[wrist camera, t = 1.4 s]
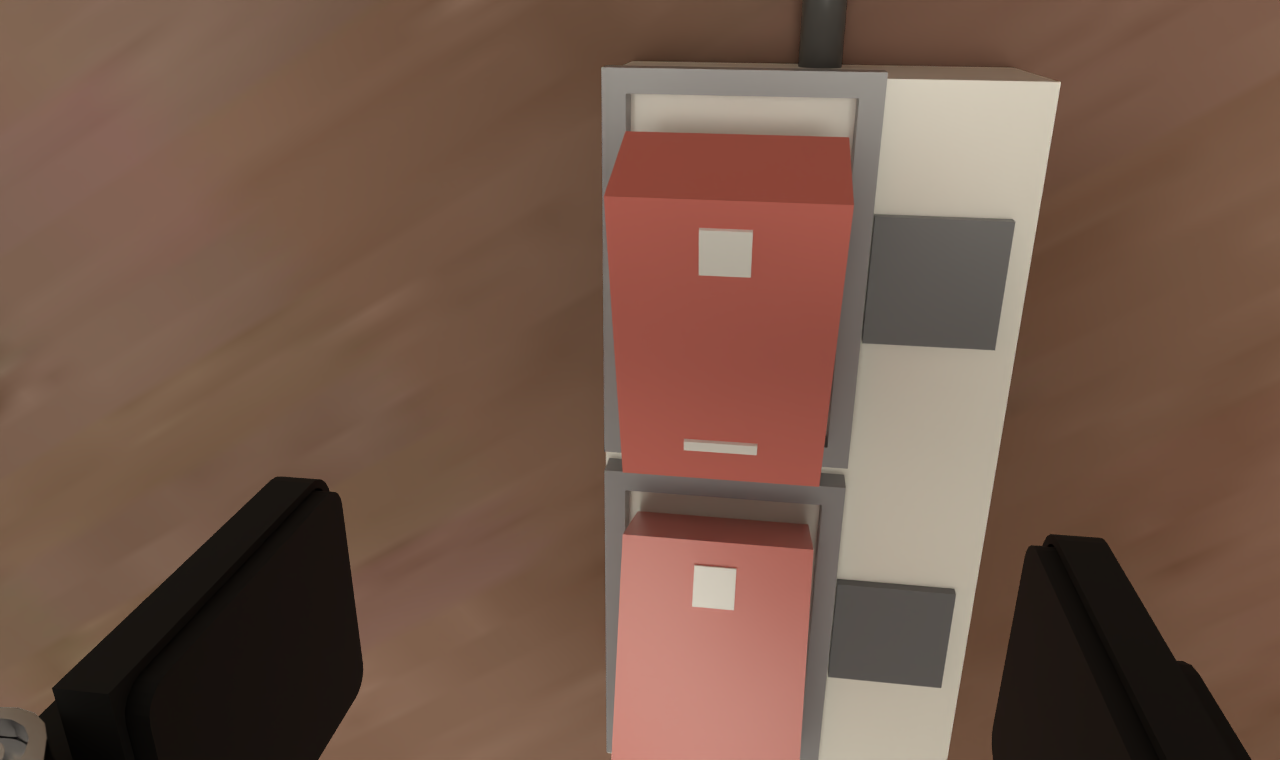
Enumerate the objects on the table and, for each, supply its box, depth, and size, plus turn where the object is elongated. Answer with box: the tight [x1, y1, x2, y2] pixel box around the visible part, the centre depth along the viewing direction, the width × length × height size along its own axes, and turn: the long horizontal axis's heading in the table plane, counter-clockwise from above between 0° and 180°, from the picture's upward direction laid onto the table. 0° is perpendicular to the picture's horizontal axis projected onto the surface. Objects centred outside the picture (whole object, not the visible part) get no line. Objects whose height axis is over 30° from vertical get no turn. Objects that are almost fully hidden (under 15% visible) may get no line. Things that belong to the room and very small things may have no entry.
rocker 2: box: [611, 511, 814, 760], centre depth 26 cm, size 5×8×3 cm, turn 0°
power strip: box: [601, 0, 1061, 760], centre depth 28 cm, size 11×26×6 cm, turn 0°
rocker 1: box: [604, 131, 854, 487], centre depth 23 cm, size 5×8×3 cm, turn 0°
